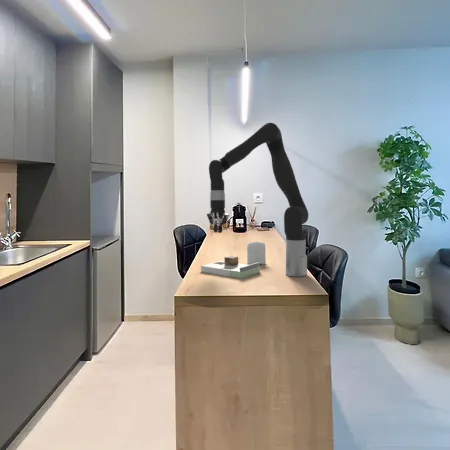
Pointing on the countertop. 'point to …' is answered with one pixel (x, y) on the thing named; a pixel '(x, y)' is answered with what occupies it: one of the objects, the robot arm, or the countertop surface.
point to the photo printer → (256, 253)
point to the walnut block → (231, 260)
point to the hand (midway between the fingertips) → (218, 232)
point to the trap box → (231, 269)
